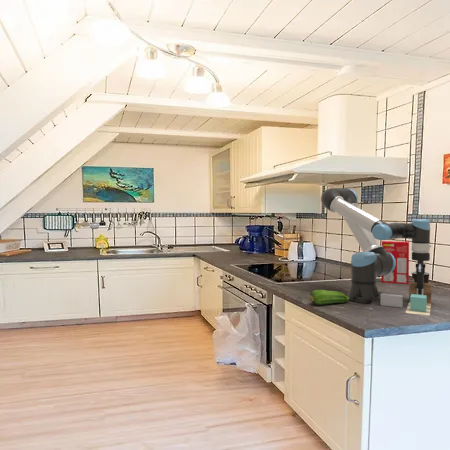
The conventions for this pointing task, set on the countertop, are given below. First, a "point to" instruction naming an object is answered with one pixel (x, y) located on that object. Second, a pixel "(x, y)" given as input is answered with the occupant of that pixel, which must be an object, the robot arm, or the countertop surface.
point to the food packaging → (398, 262)
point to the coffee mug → (426, 277)
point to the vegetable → (327, 297)
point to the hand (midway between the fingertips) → (420, 301)
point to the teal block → (418, 302)
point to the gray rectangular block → (391, 300)
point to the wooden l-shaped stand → (425, 292)
